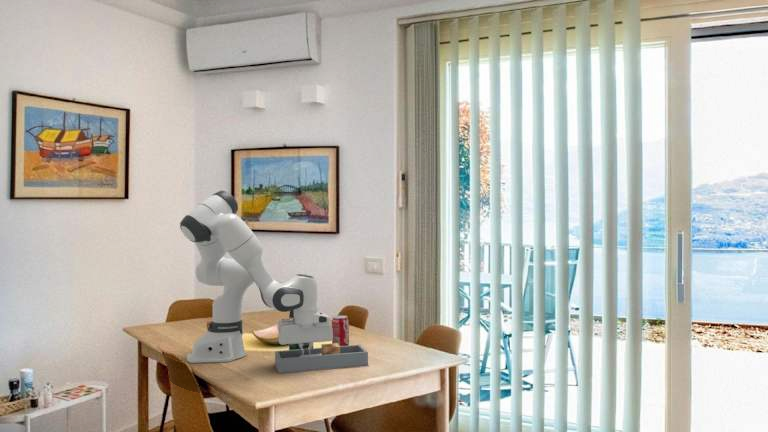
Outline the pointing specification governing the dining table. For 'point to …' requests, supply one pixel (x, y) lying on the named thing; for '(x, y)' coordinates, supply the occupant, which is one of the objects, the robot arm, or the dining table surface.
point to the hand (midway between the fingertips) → (305, 354)
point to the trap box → (320, 359)
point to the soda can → (340, 330)
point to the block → (330, 349)
